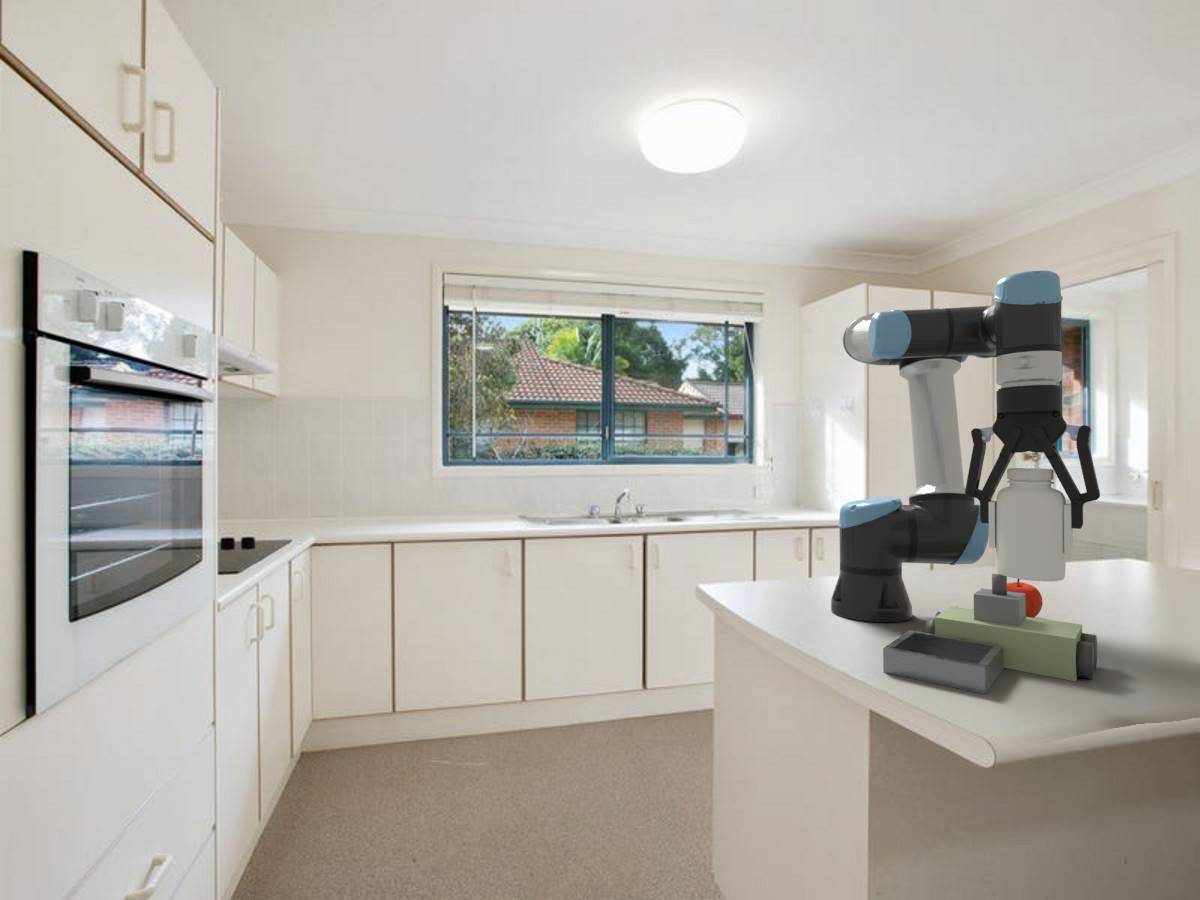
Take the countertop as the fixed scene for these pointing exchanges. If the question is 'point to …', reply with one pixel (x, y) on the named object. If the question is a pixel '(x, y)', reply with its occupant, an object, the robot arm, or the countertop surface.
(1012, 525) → the pill bottle
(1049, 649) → the green roller box
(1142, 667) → the countertop surface
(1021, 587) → the apple
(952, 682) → the grey square tray
